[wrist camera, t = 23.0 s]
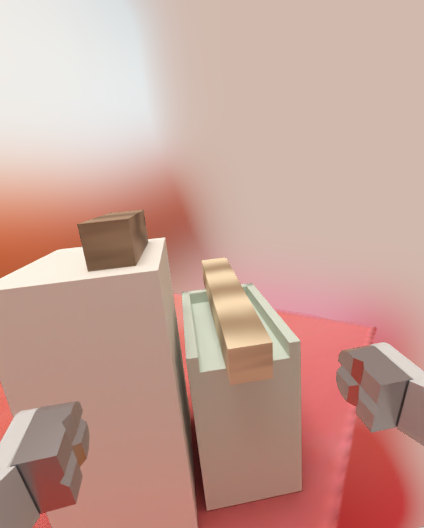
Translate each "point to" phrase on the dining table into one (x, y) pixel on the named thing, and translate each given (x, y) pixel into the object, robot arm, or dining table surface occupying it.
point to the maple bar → (237, 325)
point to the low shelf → (244, 410)
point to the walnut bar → (113, 240)
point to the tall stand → (106, 381)
